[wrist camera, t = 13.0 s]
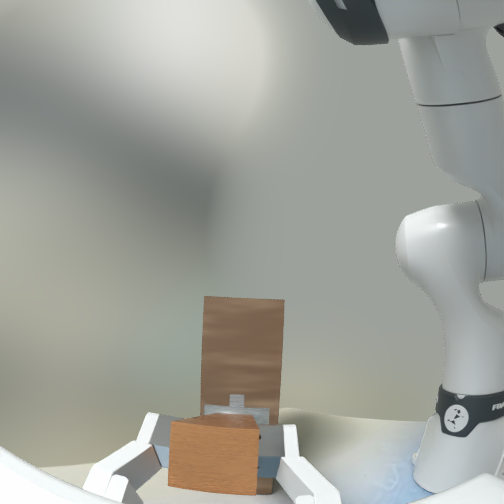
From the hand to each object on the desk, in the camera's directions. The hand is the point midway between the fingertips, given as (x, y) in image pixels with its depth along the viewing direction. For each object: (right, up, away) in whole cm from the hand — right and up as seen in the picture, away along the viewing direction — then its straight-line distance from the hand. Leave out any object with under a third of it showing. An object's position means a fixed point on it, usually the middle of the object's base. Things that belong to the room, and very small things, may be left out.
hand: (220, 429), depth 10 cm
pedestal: (-1, -25, +24) cm, 35 cm away
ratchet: (0, -6, +6) cm, 8 cm away
